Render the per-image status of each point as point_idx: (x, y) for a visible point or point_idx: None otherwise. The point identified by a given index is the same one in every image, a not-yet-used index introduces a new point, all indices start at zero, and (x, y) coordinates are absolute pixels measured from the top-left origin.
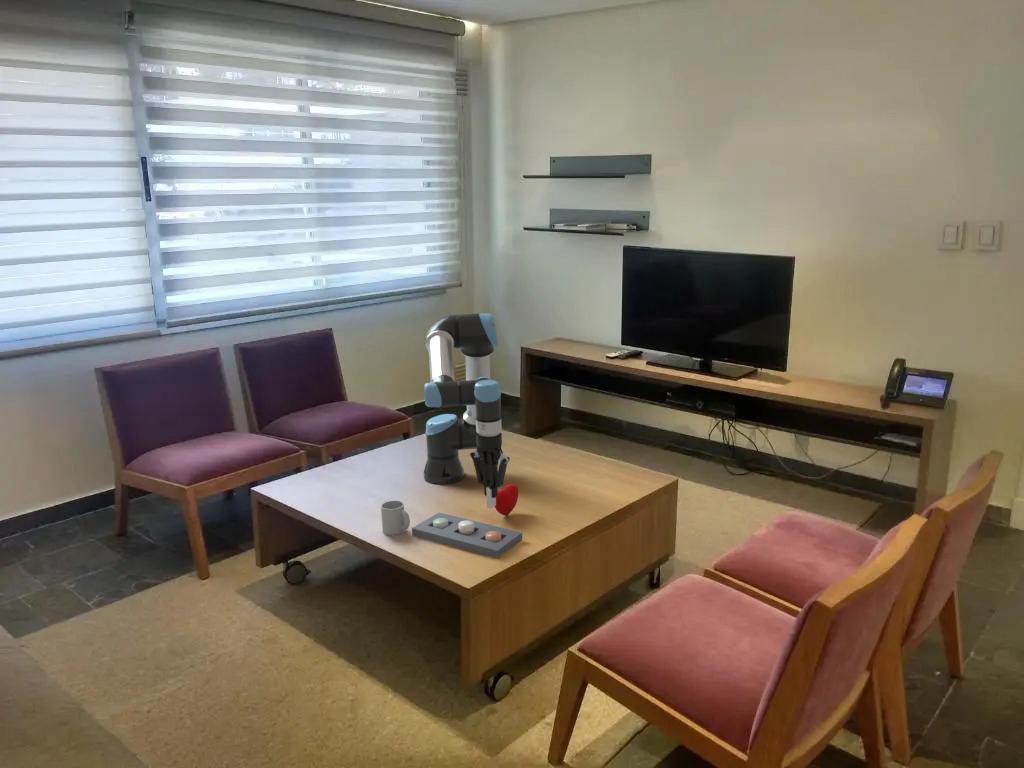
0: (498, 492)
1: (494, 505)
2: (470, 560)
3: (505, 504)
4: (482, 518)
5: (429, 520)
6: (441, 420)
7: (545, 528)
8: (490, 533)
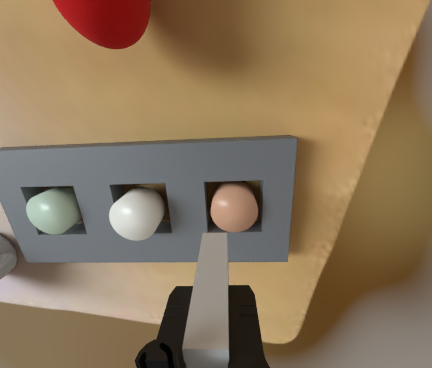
0: None
1: (227, 245)
2: (233, 278)
3: (143, 14)
4: (87, 65)
5: (13, 209)
6: None
7: (322, 7)
8: (223, 211)
